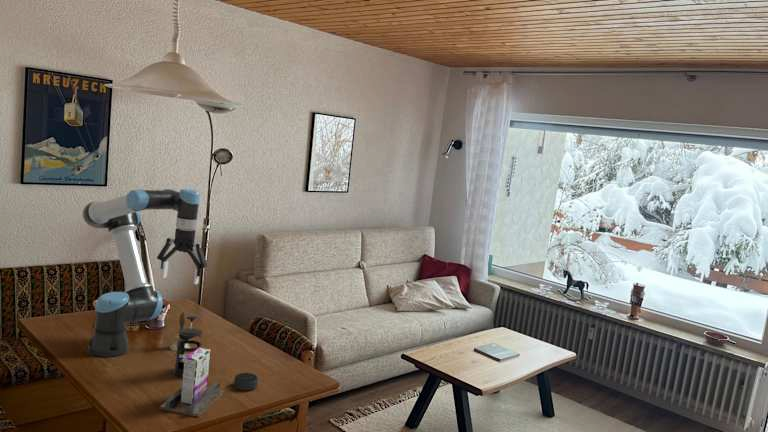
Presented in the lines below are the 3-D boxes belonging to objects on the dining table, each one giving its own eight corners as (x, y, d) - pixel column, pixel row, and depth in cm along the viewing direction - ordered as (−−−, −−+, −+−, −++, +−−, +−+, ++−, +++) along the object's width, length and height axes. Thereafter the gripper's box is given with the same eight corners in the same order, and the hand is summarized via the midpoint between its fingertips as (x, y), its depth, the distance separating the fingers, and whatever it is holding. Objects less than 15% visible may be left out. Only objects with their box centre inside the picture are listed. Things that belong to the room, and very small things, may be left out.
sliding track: (159, 409, 196) (160, 399, 196) (188, 385, 217) (189, 376, 217) (198, 417, 195) (199, 407, 194) (224, 392, 215) (225, 383, 215)
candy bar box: (193, 390, 212) (198, 346, 210) (207, 392, 211) (211, 349, 209) (179, 402, 201) (183, 357, 199) (192, 405, 200) (197, 360, 198)
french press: (204, 376, 227) (210, 319, 224) (182, 381, 220) (188, 322, 217) (188, 365, 234) (193, 310, 232) (166, 370, 227) (172, 313, 225)
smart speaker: (230, 389, 219) (232, 379, 218) (236, 380, 228) (237, 370, 227) (254, 393, 219) (255, 383, 218) (259, 383, 228) (260, 373, 227)
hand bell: (165, 348, 249) (169, 312, 247) (179, 343, 257) (182, 308, 255) (181, 353, 246) (184, 316, 244) (194, 347, 254) (197, 312, 252)
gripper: (151, 224, 228) (145, 276, 231) (211, 235, 225) (204, 288, 227) (161, 222, 235) (156, 273, 238) (219, 232, 232) (213, 284, 235)
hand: (179, 280), depth 233 cm, fingers open, 13 cm apart
